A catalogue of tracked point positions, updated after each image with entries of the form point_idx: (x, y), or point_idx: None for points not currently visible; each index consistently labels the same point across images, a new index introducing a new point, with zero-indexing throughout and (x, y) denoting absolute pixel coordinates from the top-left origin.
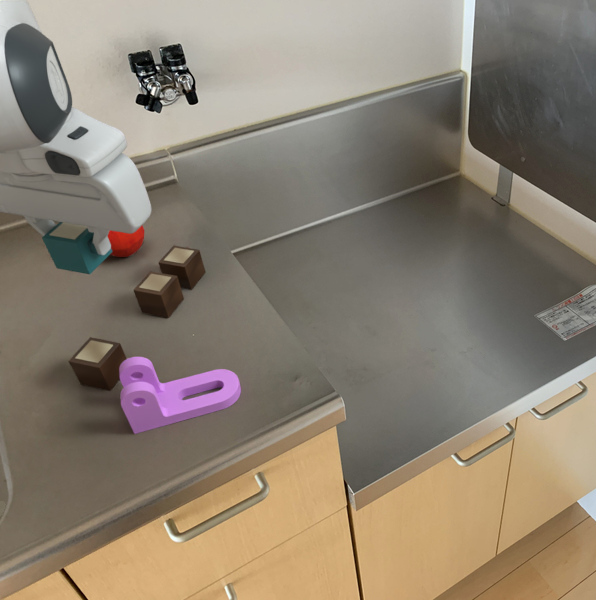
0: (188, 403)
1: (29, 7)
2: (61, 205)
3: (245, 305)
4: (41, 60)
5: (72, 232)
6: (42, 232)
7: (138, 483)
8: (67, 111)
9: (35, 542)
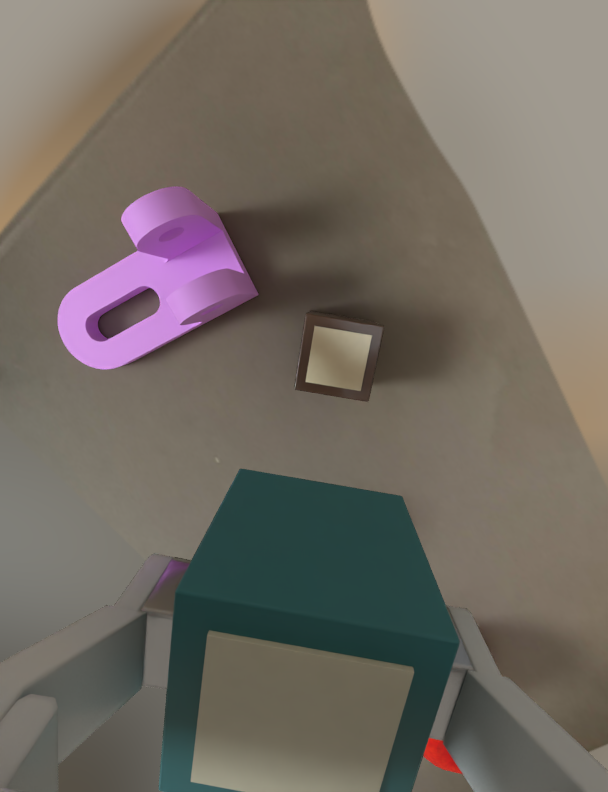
0: (130, 279)
1: None
2: None
3: (156, 535)
4: None
5: (261, 694)
6: (498, 692)
7: (158, 98)
8: None
9: None
